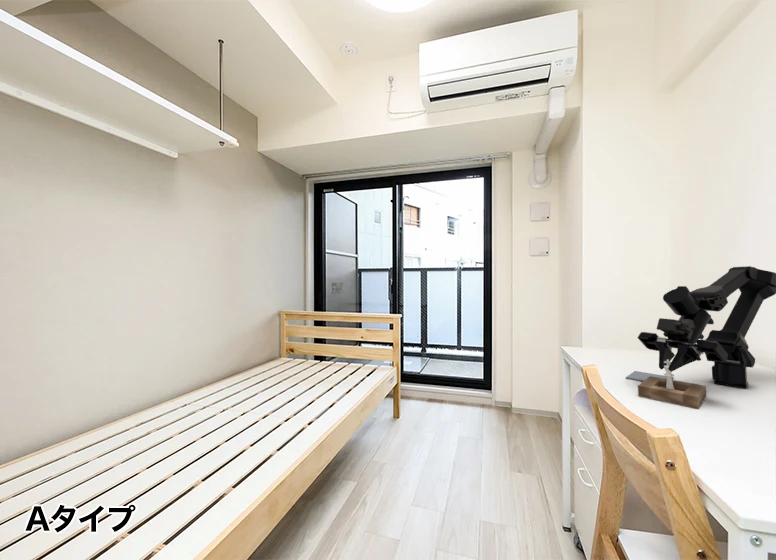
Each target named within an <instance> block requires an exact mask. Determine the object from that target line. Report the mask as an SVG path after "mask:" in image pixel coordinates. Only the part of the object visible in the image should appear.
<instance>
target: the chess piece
mask: <svg viewBox="0 0 776 560" xmlns="http://www.w3.org/2000/svg"><path fill="white" fill-rule="evenodd" d="M671 362H672V361H670V362H669V359H667V361H664V363H667V365H665V366H664V368H663V369H664V370H665V371H664V372H666V373H663V376H667V383H666V388H669V389H674V387H673V382H672V377H675V375H674V374H673V371H672V372H671V371H669V369H668V368H669V366H670V364H671ZM674 390H675V389H674Z"/></svg>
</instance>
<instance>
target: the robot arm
mask: <svg viewBox="0 0 776 560" xmlns="http://www.w3.org/2000/svg"><path fill="white" fill-rule="evenodd" d="M737 290H739V292H740V295H739V296H738V298H737V300H736V302H735V304H734V306H733V308H732V310H731V311H730V313H729V314H728V317H727V319H726V320H725V322H724V325H723V327H722V328H721V329H720V330H716V329H712V330H710V331H709V333H708V335H707V338H705V339H704V337H705V335H703V332H704V331H705V328H706V327H707V325H714V323H715V322H714V320H713V318H712V316H711V314H710V313H709V312H721V311H722V310H723V309H724V308H725V307H726V305H728V303H729V302H728V297H730V296H731V295H732V294H733V293H734V292H736V291H737ZM775 295H776V272H773V271H770V270H764V269H759V268H757V267H754V266H751V265H749V266H733V267H730V268H729V269H728V271H727V272H726V273H725V274H723V275H722V276H720V277H719V278H718V279H716V280H715V281H714V282H712V283H710V285H708V286H705V287H699V288H696V289H694V290H691V291H690V290H689V288H688V287H687V285H684V286H683V285H682V286H680V285H679V286H678V285H677V287H676V288H675V289H671V290H669V291H668V292H666V293H664V295H663V297H662V300H663V302H665V303H666V305H667V306H668V307H669V308H670V310H671V311H672V312H673V313H674V314H675V315H677V316H680V317H679V319H672V318H658V322H657V326H656V330H658V331H661V332H662V335H663V337H662V336H659V335H658V334H657V333H656V332H650V331H649V332H647V331H640V333H639V334H638V336H637V339H638V340H639V341H640V342H641V344H642V345H643V346H644V347H645V348H646V349H648V350H651V351H657V352H658V354H659V355H658V368H659V369H660V370H664V369H665V368H664V366H665V365H667V363H664V361H667V359H669V362H671V364H670V366H669V368H668V369H669V371H671V372H672V373H673V371H676V370H678V369H680V368H683V367H684V366H686V365H688V364H691V363H694V362H696V361H698V362H699V361H701V360H702V358H701V356H702V355H703V354H705V357H706V361H708V362H714V363H713V365H712V366H711V374H712V375H711V376H712V377H711V379H712V381H713V383H714V384H717V385H721V386H729V387H735V388H740V389H747V388H748V385H749V381H748V375H747V373H748V372H747V368H754V367H755V364H756V358H755V357H754V356H753V354H752V353H751V352H750V350H749V345H748V343H747V340H746V339H745V338H746V336H747V333H748V332H749V330H750V327H751V326H752V323H753V322H754V319H755V318H756V315H757V314H758V312H759V310H760V308H761V305H762V304H763V302H764V301H765V300H767V299H769V298H770V297H774V296H775ZM672 349H677V351H676V353H674V352H673V351H672Z"/></svg>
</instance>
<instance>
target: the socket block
mask: <svg viewBox="0 0 776 560" xmlns="http://www.w3.org/2000/svg"><path fill="white" fill-rule="evenodd" d="M672 382H673V387H674V389H675V390H674V389H669V388H666V383H667V379H663V378H657V377H652V376H650V377H648V378H647V379H646V380H644V381H643V382H640V383H639V384H638V385H637V393H638V394H637V396H638V397H641V398H645V399H649V400H654V401H659V402H663V403H669V404H673V405H679V406H683V407H688V408H692V409H697V410H699V409H700V407H701V406H702V404H703V403H704V401H705V400H706V398H707V385H702V384H697V383H692V382H687V381H680V380H675V379H673V380H672Z"/></svg>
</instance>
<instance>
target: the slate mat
mask: <svg viewBox="0 0 776 560" xmlns="http://www.w3.org/2000/svg"><path fill="white" fill-rule="evenodd" d="M650 376H652V377H657V378H663V379H667V376H665V375H664V374H663V375H662V374H656V373H651V372H645V371H638V370H634V371H633V372H631V373H630V374H629V375H627V376H625V380H630V381H631V380H632V381H636V382H640V383H642V382H643V381H644V380H646V379H647V378H648V377H650ZM674 377H675V376H674ZM674 377H672V380H675V379H674Z"/></svg>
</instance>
